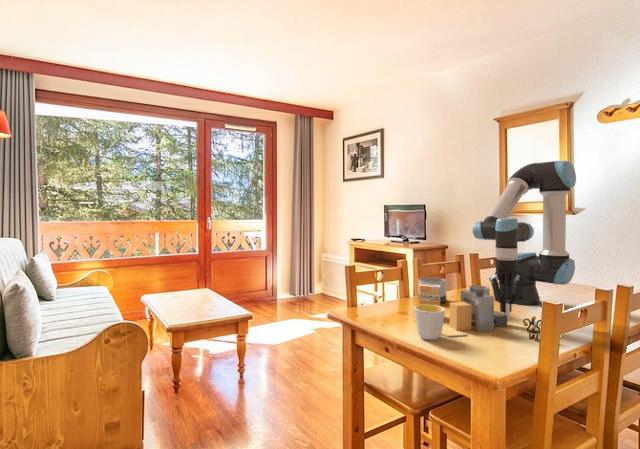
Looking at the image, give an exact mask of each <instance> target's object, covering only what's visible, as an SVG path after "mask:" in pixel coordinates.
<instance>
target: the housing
mask: <svg viewBox="0 0 640 449" xmlns="http://www.w3.org/2000/svg"><path fill="white" fill-rule="evenodd" d="M460 302H466V303H468V304H470V305H472V320H475V326H474V327H475V328H474V330H475V331H476V332H478V333H484V332H486V333H487V332H494V330H495V329H494V328H495V325H494V313H495V307H494V306H495V297H494V295H491V294H490V295H487V294H485V293H484V289H481V288H479V287H470V290H468V289H466V290H460Z"/></svg>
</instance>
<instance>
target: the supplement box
mask: <svg viewBox="0 0 640 449" xmlns="http://www.w3.org/2000/svg"><path fill="white" fill-rule="evenodd" d="M440 289H441V285H429V284H420V296H419V298H418V299H419V302H418V303H419V304H418V305H422V304H430V305H437V306H441V303H440Z"/></svg>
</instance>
